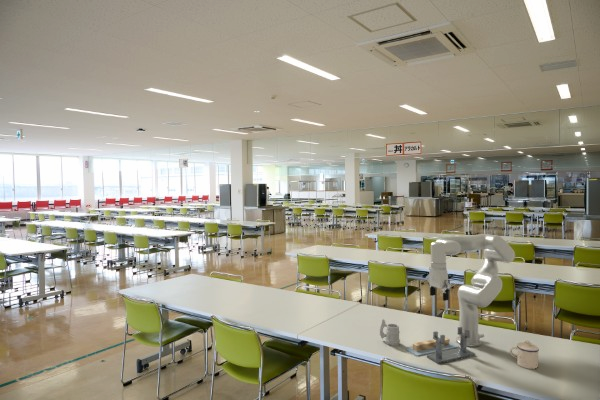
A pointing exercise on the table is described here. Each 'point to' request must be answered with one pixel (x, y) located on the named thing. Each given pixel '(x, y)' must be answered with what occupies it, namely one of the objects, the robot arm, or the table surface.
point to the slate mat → (432, 350)
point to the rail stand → (451, 354)
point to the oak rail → (428, 344)
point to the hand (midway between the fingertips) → (439, 297)
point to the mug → (390, 333)
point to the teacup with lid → (526, 355)
